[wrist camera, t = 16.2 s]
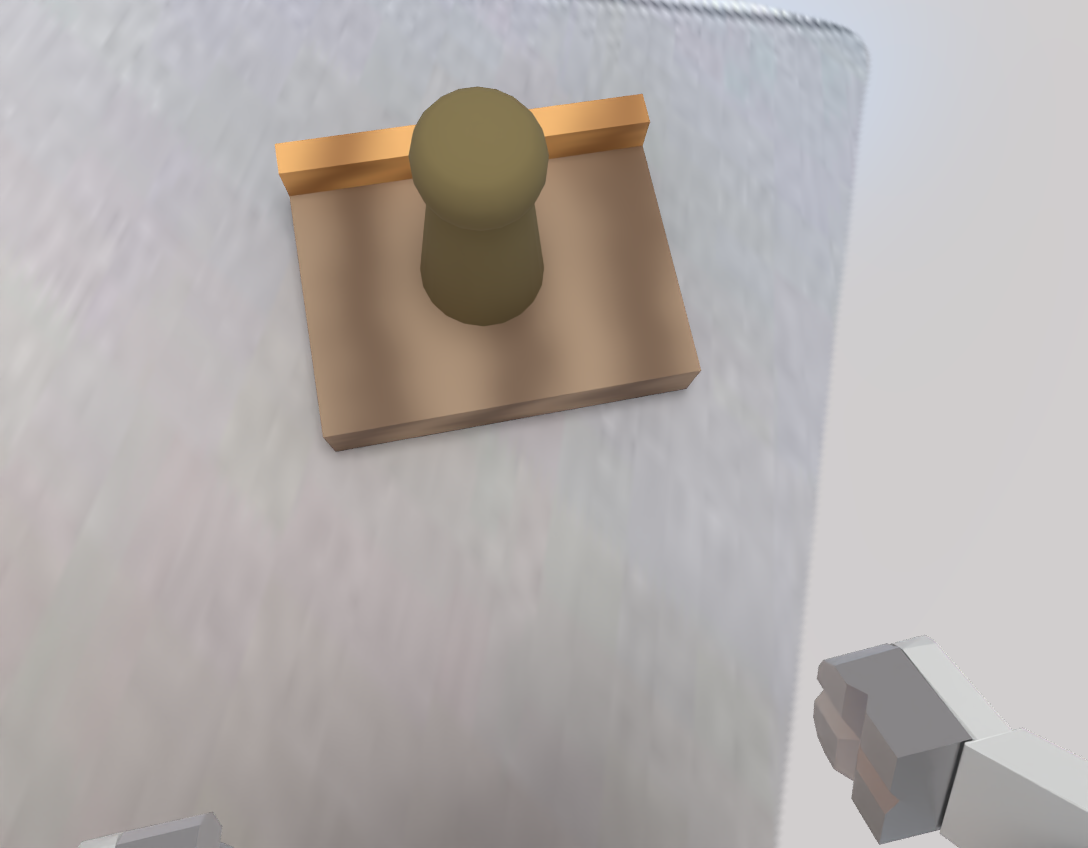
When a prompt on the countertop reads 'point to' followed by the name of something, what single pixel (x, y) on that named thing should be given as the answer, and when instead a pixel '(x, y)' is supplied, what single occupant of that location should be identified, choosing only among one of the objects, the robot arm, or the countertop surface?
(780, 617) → the countertop surface
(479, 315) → the cork
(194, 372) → the countertop surface
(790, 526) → the countertop surface
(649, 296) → the dock
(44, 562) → the countertop surface
